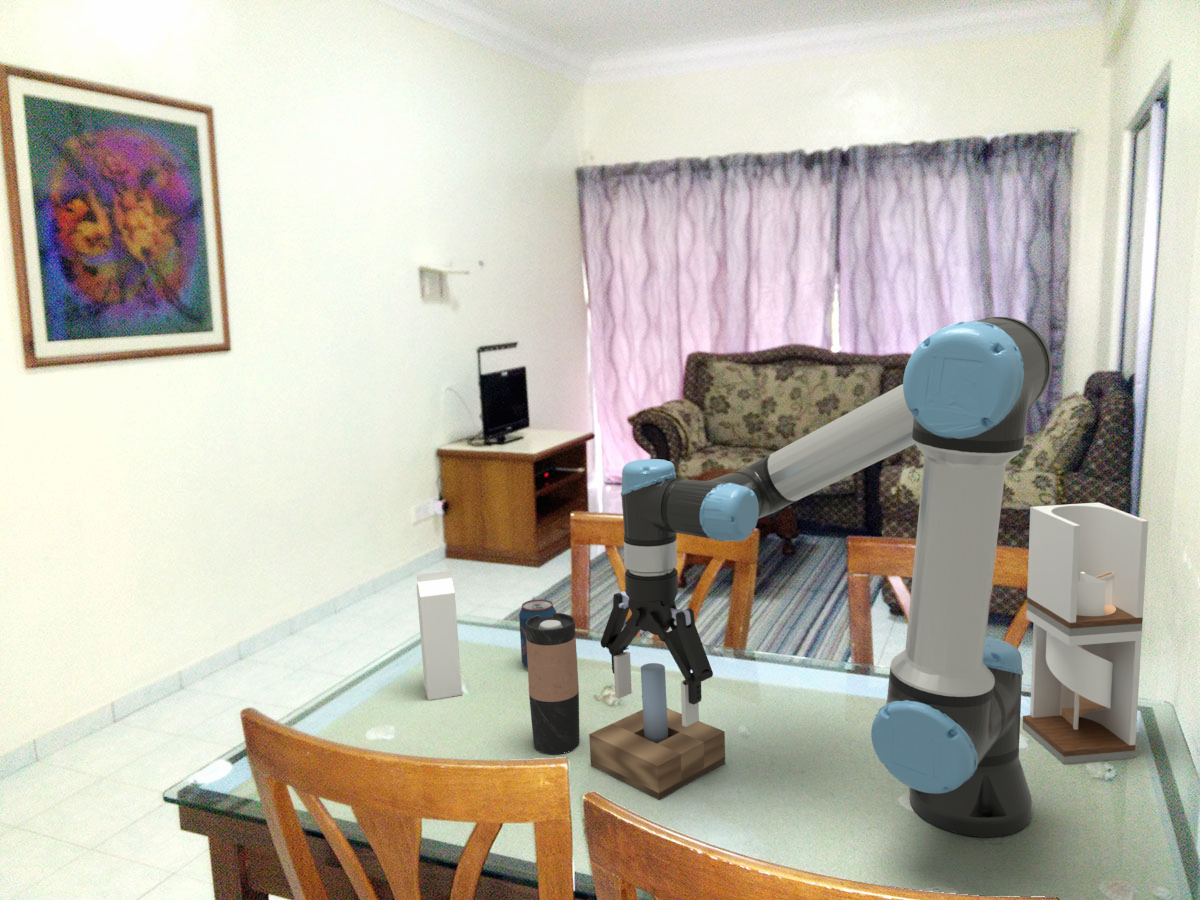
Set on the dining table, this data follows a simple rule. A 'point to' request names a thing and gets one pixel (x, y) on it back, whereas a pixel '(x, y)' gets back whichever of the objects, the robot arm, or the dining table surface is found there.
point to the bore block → (657, 753)
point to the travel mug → (553, 682)
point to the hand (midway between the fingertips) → (655, 708)
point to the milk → (439, 634)
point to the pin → (654, 702)
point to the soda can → (529, 610)
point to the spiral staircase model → (1085, 629)
